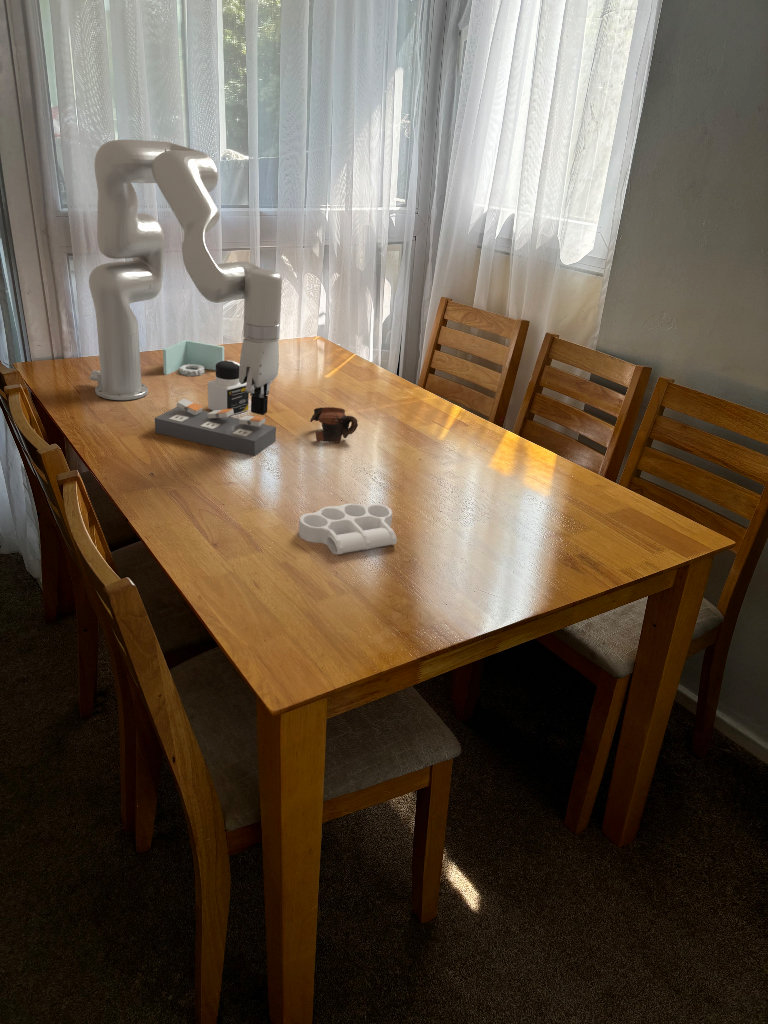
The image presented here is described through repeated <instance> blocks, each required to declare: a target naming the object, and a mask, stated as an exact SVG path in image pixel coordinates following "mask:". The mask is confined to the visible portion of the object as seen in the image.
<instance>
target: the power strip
mask: <svg viewBox="0 0 768 1024" xmlns="http://www.w3.org/2000/svg"><path fill="white" fill-rule="evenodd" d="M210 412H211V411H206V410H202V412H200V413H199V414H197V415H193V414H191V413H189V412H187V411H185V410H184V409H182V408H180V407H178V406H176V407H173V408H171V409H170V410H168V411H166V412H164V413H161V414H160V415H158V416H156V417H154V433H155V434H159V435H163V436H167V437H171V438H176V439H181V440H185V441H189V442H193V443H198V444H201V445H206V446H210V447H215V448H219V449H224V450H227V451H230V452H231V451H232V452H236V453H240V454H244V455H249V456H252V457H256V456H257V455H258V454H260V453H261V452H262V451H263V450H265V449H266V448H268V447H270V446H271V445H273V443H276V441H277V439H276V435H277V426H274V425H269V424H265V423H263V424H262V425H260V426H254V425H246V424H239V419H240V418H239V417H238V418H237V417H233V416H228V417H223V418H208V415H207V414H208V413H210Z"/></svg>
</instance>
